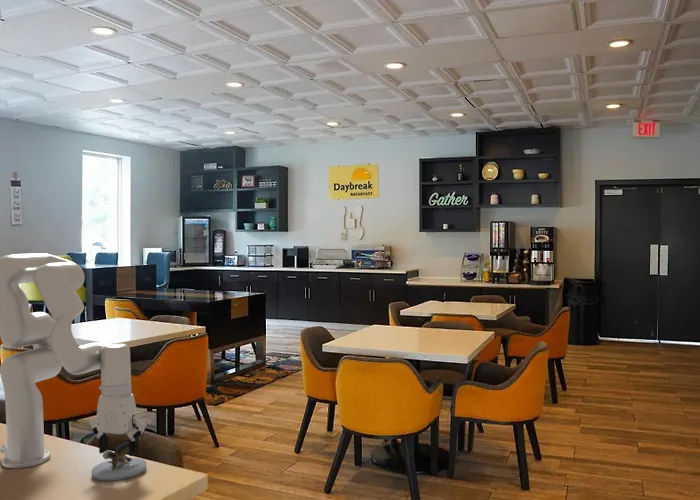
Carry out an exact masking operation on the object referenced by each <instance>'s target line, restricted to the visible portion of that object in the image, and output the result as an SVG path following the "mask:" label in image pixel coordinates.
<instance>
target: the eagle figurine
mask: <svg viewBox="0 0 700 500" xmlns="http://www.w3.org/2000/svg"><path fill="white" fill-rule="evenodd" d="M129 441H131V440H130V438H127V439H126V440H124V441H121V443H118V444H117V446H116V447H115V451H114V452H113V451H112V450H110V449H109V450H108V451H106V452H104V453H102V457H103V459H104V460H108V459H109V460H112V462H111V461H109V460H108V461H109V462H108V463H112V464H113V467H112V470H113V469H114V468H115V467H116V465H117V462H118V461H119V462H123V463H125V464H127V465H129V463H128V461H127V460H126V459H132V458H133V457H128V456H127V454H129ZM139 444H140V442H138V447H139Z"/></svg>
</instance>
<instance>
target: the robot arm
mask: <svg viewBox="0 0 700 500" xmlns="http://www.w3.org/2000/svg"><path fill="white" fill-rule="evenodd" d="M84 282H85V273H84V270H83V268H81V266H80V265H79V264H77V263H76V262H74V261H72V260H69V259H65V258H61V257H59V256H56V255H53V254H49V253H40V252H39V253H35V252H34V253H12V254H6V255H2V256H0V339H1V343H2V344H3V345H4V347H6V348H8V349H17V348H18V349H19V348H24V347H28V346H32V348H33V349H30V350H25V351H20V352H16V353H13V354H11V355H9V356H7V357H6V358H5V359H4V360H2V363H1V364H0V379H1V382H2V386H3V392H4V401H5V402H4V403H5V420H6V421H5V422H6V423H5V424H6V443H4V444H2V445H1V447H0V454H4V458H2V459H1V466H2V465H3V466H4V468H6V467H7V468H6V469H22V468H29V467H32V466H36V465H40V464H43V463H45V462H47V461H48V460H50V458H51V452H50V451H49V450H47V449H45V434H44V433H45V432H44V426H45V425H44V405H43V396H42V393H41V391H40V389H38V388H39V387H37V385H36V383H38V382H41V381H45V380H49V379H51V378H54V377H56V376H58V374H60V372H61V370H62V368H64V370H66V372H68V373H69V374H71V375H74V376H75V375H76V376H79V375H82V374H87V373H89V372H93V371H97V370H100V372H101V373H100V381H101V384H100V385H99V386H98V389H99V391H101V395H99V397H98V401H97V409H96V417H95V418H93V419H92V420H90V421H89V425H90V426H91V429H92V432H93V433H94V434H95V437H96V439H98V450H99V451H98V453H99V454H103V453H105V452H106V451H109V450H110V445H109V443H110V442H109V441H110V440H109V436H108V434H110V435H127V437H128V439H130V440H131V441H129V453H128V455H129V456H130V457H133V456H134V455H136V454H138V453H139V446H138V443H139V439H140V438H141V436H142V435H143V434H144V432H145V430H146V428H147V423H146V422H144V421H143V420H141V419H140V418H138V413H137V412H138V411H137V406H136V401H135V397H134V396H135V395H134V393H132V375H131V373H132V372H131V371H132V367H131V348H130V346H129V345H128V344H126V343H111V342H108V341H94V342H90V343H89V342H88V343H85V344H80V345H78V342H77V341H76V339H75V336H74V335H73V332H72V324H73V320H75V319H76V318H78V317H79V316H80V315H81V314H82V313H83V311H85V310H84V309H85V305H84V303H83V301H82V299H81V298H80V296H79V294H78V292H77V291H76V290H78V289H80V288H82V286H83V285H84ZM26 283H34V285H35V287H36V289H37V291H38V293H39V294H40V297H41V298H42V300H43V302H44V304H45V306H46V308H47V309H48V311H49V313H50V314H49V313H47V312H44V311H36V312H35V311H34V312H31V309H30V305H29V298H28V296H27V295H26V292H24V290H23V289H22V288H21V287H19V284H26ZM137 427H138V429H137ZM3 466H2V467H3Z"/></svg>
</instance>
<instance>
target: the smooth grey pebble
mask: <svg viewBox="0 0 700 500" xmlns="http://www.w3.org/2000/svg"><path fill="white" fill-rule="evenodd" d="M131 458H132V459H126V460H127V461H128V463H129V465H127V464H125V463H123V462H119V461H118V462H117V465H116V467H115V468H114V469H113V470H112V467H113V464H112V463H108V462H109V461H111V462H112V459H109V460H106V461H103V462H101V463H98V464H97V465H95V466H94V467H92V468H91V471H90V472H91V477H92V478H93V479H95V480H98V481H118V480H125V479H128V478H132V477H134V476H137V475H140V474H142V473H143V472H145V471H146V469H147V461H146V460H145V459H143V458H139V457H131Z"/></svg>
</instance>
